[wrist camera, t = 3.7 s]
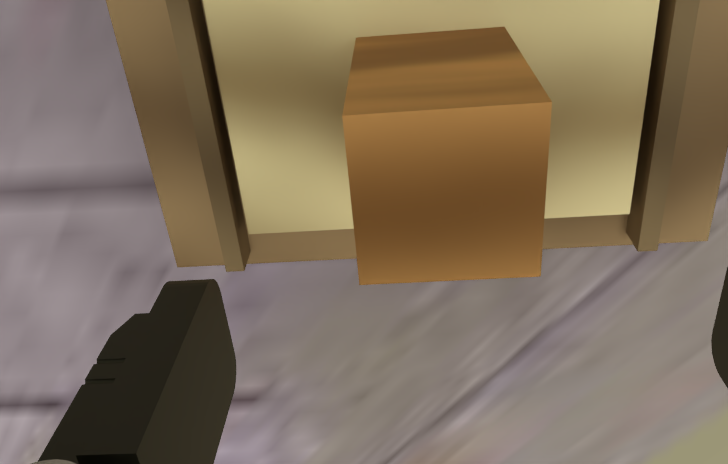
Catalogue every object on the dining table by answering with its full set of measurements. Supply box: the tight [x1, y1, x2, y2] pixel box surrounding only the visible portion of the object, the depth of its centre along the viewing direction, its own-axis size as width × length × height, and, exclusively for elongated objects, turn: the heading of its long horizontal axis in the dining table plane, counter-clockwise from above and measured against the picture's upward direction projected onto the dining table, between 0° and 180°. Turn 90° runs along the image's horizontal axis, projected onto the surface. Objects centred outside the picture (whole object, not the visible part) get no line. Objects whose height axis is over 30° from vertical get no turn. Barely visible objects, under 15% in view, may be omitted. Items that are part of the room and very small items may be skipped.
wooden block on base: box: [203, 0, 660, 285], centre depth 17 cm, size 8×12×7 cm, turn 95°
